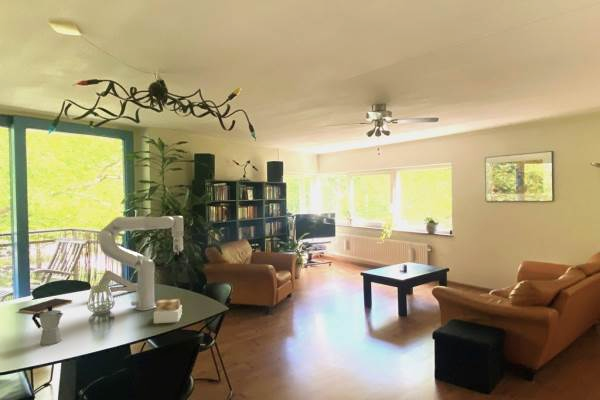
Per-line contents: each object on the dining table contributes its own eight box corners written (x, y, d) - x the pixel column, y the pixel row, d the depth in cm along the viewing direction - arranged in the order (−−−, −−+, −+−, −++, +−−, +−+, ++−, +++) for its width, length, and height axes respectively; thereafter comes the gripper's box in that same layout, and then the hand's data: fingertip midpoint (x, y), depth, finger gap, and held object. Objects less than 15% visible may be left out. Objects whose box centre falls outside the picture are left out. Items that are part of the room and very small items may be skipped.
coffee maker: (69, 338, 176) (68, 302, 176) (58, 345, 167) (57, 308, 167) (39, 338, 176) (38, 303, 175) (26, 346, 167) (25, 309, 167)
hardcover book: (72, 303, 235) (72, 300, 235) (37, 315, 213) (37, 311, 213) (55, 301, 240) (55, 298, 239) (19, 312, 218) (19, 308, 218)
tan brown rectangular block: (156, 317, 199) (156, 302, 199) (158, 314, 204) (158, 300, 204) (178, 316, 201) (178, 301, 200) (179, 313, 205) (179, 299, 205)
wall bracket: (126, 316, 254) (91, 301, 233) (122, 315, 256) (87, 300, 235) (141, 287, 265) (109, 271, 243) (138, 286, 267) (106, 270, 246)
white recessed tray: (153, 323, 195) (153, 312, 195) (159, 316, 207) (159, 306, 207) (178, 322, 197) (177, 311, 197) (181, 314, 209) (181, 304, 209)
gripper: (180, 235, 227) (181, 261, 227) (185, 232, 244) (186, 257, 244) (168, 235, 226) (169, 262, 226) (174, 232, 243) (175, 257, 243)
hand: (178, 259), depth 235 cm, fingers open, 9 cm apart
